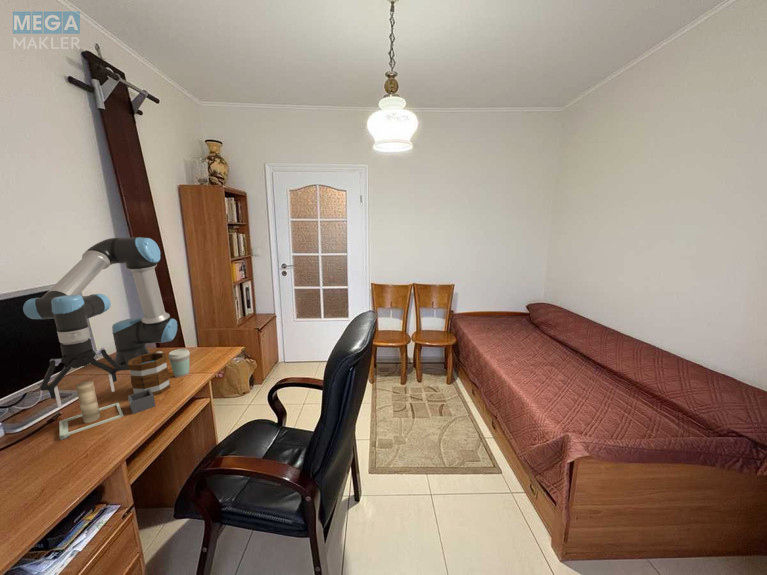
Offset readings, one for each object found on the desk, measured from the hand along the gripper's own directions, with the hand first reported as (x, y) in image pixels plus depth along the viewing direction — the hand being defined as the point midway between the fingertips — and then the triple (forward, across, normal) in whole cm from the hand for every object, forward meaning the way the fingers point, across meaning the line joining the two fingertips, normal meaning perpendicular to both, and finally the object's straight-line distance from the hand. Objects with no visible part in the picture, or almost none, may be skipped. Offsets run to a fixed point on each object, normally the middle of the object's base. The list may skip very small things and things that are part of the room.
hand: (87, 397), depth 108 cm
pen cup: (+9, +14, -4) cm, 17 cm away
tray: (+9, 0, 0) cm, 9 cm away
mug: (+10, +21, +12) cm, 26 cm away
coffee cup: (+10, +32, +16) cm, 37 cm away
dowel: (+9, 0, 0) cm, 9 cm away
